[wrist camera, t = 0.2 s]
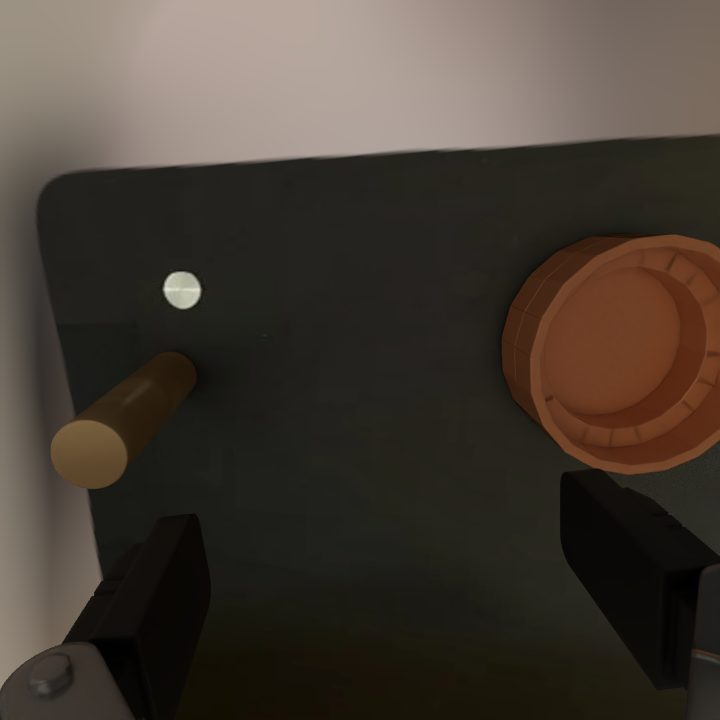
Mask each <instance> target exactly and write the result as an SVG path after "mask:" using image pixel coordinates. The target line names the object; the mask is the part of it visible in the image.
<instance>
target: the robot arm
mask: <svg viewBox="0 0 720 720" xmlns="http://www.w3.org/2000/svg"><path fill="white" fill-rule="evenodd" d="M560 537H561V544H562V549H563V552H564V555H565V558H566V560H567V562H568V564H569V566H570V567H571V569H572V570H573V571H574V573H575V574H576V576H577V577H578V578H579V580H580V581H581V583H582V584H583V586H584V587H585V588H586V590H587V591H588V593H589V594H590V595H591V597H592V598H593V600H594V601H595V603H596V604H597V605H598V607H599V608H600V610H601V611H602V613H603V614H604V615H605V617H606V618H607V620H608V621H609V622H610V624H611V625H612V627H613V628H614V630H615V631H616V632H617V634H618V635H619V637H620V638H621V640H622V641H623V642H624V644H625V645H626V647H627V648H628V649H629V651H630V652H631V654H632V655H633V657H634V658H635V659H636V661H637V662H638V664H639V665H640V666H641V668H642V669H643V671H644V672H645V674H646V675H647V676H648V678H649V679H650V681H651V682H652V684H653V685H654V686H655V688H656V689H657V690H664V689H672V688H680V687H684V688H685V689H686V691H687V699H686V710H685V720H720V556H718V555H717V554H716V553H715V552H714V551H713V550H711V549H710V548H709V547H708V546H707V545H706V544H704V543H703V542H702V541H701V540H700V539H699V538H697V537H696V536H695V535H694V534H693V533H691V532H690V531H689V530H688V529H687V528H686V527H682V524H681V523H680V522H679V521H677V520H676V519H675V518H674V517H673V516H672V515H668V512H667V511H666V510H664V509H663V508H662V507H661V506H660V505H659V504H657V503H656V502H655V501H654V500H653V499H652V498H649V497H647V496H645V495H643V494H641V493H639V492H636V491H634V490H632V489H630V488H621V487H620V486H619V485H618V484H617V483H616V482H615V481H614V480H612V479H611V478H610V477H609V476H608V475H607V474H606V473H605V472H604V471H602V470H601V469H599V468H595V469H586V470H577V471H568V472H564V473H563V474H562V476H561V481H560ZM210 595H211V582H210V574H209V569H208V563H207V558H206V553H205V548H204V542H203V537H202V532H201V527H200V522H199V519H198V517H197V515H196V514H185V515H177V516H168V517H160V518H159V519H158V520H157V521H156V523H155V525H154V526H153V528H152V530H151V532H150V533H149V535H148V537H147V539H146V540H145V542H144V543H138V544H133V545H132V546H131V547H130V548H129V549H127V550H126V551H125V552H124V553H123V554H121V555H120V556H119V557H118V558H117V559H115V560H114V562H113V563H112V565H111V567H110V568H109V570H108V571H107V573H106V574H105V576H104V580H103V581H101V582H100V584H99V586H98V587H97V589H96V590H95V592H94V596H92V597H91V598H90V600H89V601H88V603H87V605H86V606H85V608H84V609H83V611H82V612H81V614H80V616H79V617H78V619H77V620H76V622H75V623H74V625H73V627H72V628H71V630H70V631H69V633H68V635H67V636H66V638H65V639H64V641H63V642H62V644H61V645H58V646H55V647H52V648H49V649H47V650H45V651H43V652H41V653H39V654H38V655H36V656H34V657H32V658H31V659H29V660H28V661H26V662H25V663H24V664H22V665H21V666H20V667H19V668H17V669H16V670H15V671H14V672H13V673H12V674H11V676H10V677H9V678H8V679H7V680H6V682H5V683H4V684H3V686H2V688H1V690H0V720H174V718H175V714H176V711H177V708H178V705H179V702H180V698H181V695H182V692H183V689H184V685H185V682H186V679H187V676H188V673H189V669H190V666H191V663H192V660H193V656H194V653H195V650H196V647H197V644H198V640H199V637H200V634H201V631H202V627H203V624H204V621H205V618H206V615H207V611H208V608H209V604H210Z"/></svg>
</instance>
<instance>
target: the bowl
mask: <svg viewBox="0 0 720 720" xmlns="http://www.w3.org/2000/svg"><path fill="white" fill-rule="evenodd" d="M501 341H502V366H503V373H504V376H505V378H506V381H507V383H508V386H509V388H510V391H511V394H512V396H513V399H514V400H515V402H516V403H517V404H518V405H519V406H520V407H521V408H522V410H523V411H524V412H525V413H526V414H527V415H528V416H529V418H530V419H531V420H532V421H533V422H534V423H535V424H536V425H537V426H538V427H539V428H540V429H541V430H542V431H543V432H545V433H546V434H547V435H548V436H549V437H550V438H551V439H552V440H553V441H554V442H555V443H556V444H557V445H558V446H559V447H560V448H561V449H562V450H563V451H564V452H566V453H567V454H569V455H571V456H573V457H575V458H576V459H578V460H580V461H582V462H584V463H585V464H587V465H589V466H591V467H593V468H599V469H601V470H605V471H611V472H616V473H622V474H627V475H629V474H630V475H632V474H640V473H648V472H656V471H664V470H668V469H670V468H672V467H675V466H677V465H679V464H682V463H684V462H686V461H689V460H691V459H693V458H696V457H698V456H699V455H701V454H702V453H704V452H705V451H706V450H707V449H709V448H710V447H711V446H713V445H714V444H715V443H716V442H718V441H719V440H720V248H718V247H717V246H715V245H714V244H712V243H710V242H706V241H702V240H698V239H693V238H689V237H685V236H680V235H676V234H642V233H619V234H610V235H601V236H592V237H588V238H586V239H583V240H581V241H579V242H577V243H574V244H572V245H570V246H568V247H565V248H563V249H561V250H559V251H557V252H556V253H555V254H553V255H552V256H551V257H550V258H549V259H548V260H547V261H545V262H544V263H543V264H542V265H541V266H540V267H539V268H537V269H536V270H535V271H534V272H533V273H532V274H531V275H530V276H529V277H528V278H527V280H526V282H525V283H524V285H523V286H522V288H521V290H520V291H519V293H518V294H517V296H516V297H515V299H514V301H513V302H512V304H511V306H510V309H509V313H508V317H507V320H506V324H505V327H504V331H503V335H502V340H501Z"/></svg>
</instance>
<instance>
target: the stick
mask: <svg viewBox="0 0 720 720" xmlns="http://www.w3.org/2000/svg"><path fill="white" fill-rule="evenodd" d="M196 380H197V372H196V369H195V366H194V364H193V363H192V362H191V360H190V359H189V358H187V357H186V356H185V355H183V354H181V353H178V352H172V351H169V352H163V353H160V354H158V355H157V356H155V357H154V358H153V359H151V360H150V361H149V362H147V363H146V364H145V365H143V366H142V367H141V368H140V369H138V370H137V371H136V372H134V373H133V374H132V375H130V376H129V377H128V378H126V379H125V380H124V381H122V382H121V383H120V384H118V385H117V386H116V387H115V388H113V389H112V390H111V391H109V392H108V393H107V394H105V395H104V396H103V397H101V398H100V399H99V400H97V401H96V402H95V403H94V404H92V405H91V406H90V407H88V408H87V409H86V410H84V411H83V412H82V413H80V414H79V415H78V416H76V417H75V418H74V419H73V420H71V421H70V422H69V423H67V424H66V425H65V426H63V427H62V428H61V429H60V430H59V431H58V432H57V433H56V435H55V437H54V439H53V441H52V445H51V458H52V462H53V464H54V467H55V468H56V470H57V471H58V473H59V474H60V475H61V476H62V477H63V478H64V479H65V480H67V481H68V482H70V483H72V484H74V485H76V486H78V487H82V488H87V489H98V488H103V487H106V486H109V485H111V484H113V483H114V482H116V481H117V480H118V479H119V478H120V477H121V476H122V475H123V474H124V472H125V471H126V470H127V469H128V467H129V466H130V465H131V464H132V463H133V461H134V460H135V459H136V458H137V456H138V455H139V454H140V453H141V452H142V450H143V449H144V448H145V447H146V446H147V444H148V443H149V442H150V441H151V439H152V438H153V437H154V436H155V435H156V433H157V432H158V431H159V430H160V428H161V427H162V426H163V425H164V424H165V422H166V421H167V420H168V419H169V418H170V416H171V415H172V414H173V413H174V411H175V410H176V409H177V408H178V407H179V405H180V404H181V403H182V402H183V400H184V399H185V398H186V397H187V396H188V394H189V393H190V392H191V391H192V389H193V388H194V386H195V384H196Z"/></svg>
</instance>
